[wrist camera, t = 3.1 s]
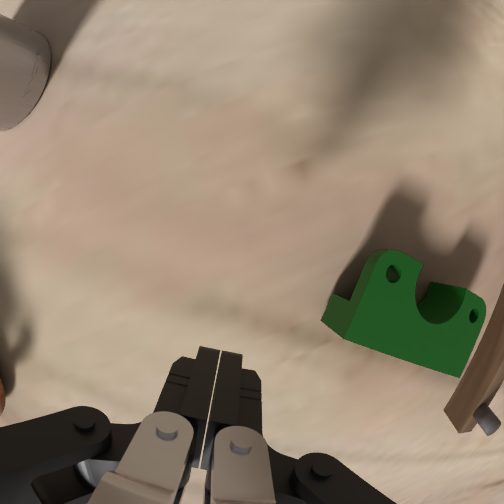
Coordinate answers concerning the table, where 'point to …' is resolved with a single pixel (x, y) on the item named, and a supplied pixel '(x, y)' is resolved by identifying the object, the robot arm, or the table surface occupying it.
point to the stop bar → (481, 380)
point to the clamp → (408, 315)
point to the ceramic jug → (2, 397)
